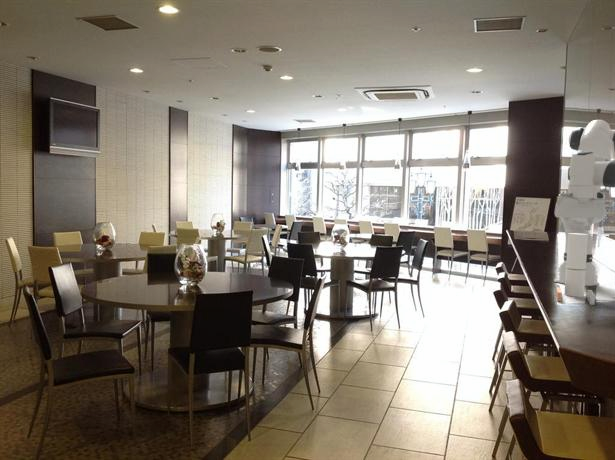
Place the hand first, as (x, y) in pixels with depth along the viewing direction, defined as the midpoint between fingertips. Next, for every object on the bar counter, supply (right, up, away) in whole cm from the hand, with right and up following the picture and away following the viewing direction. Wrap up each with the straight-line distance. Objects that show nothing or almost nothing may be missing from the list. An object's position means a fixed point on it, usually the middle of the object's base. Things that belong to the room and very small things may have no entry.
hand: (578, 230), depth 205 cm
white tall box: (+5, -27, +13) cm, 30 cm away
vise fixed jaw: (+4, -27, -1) cm, 28 cm away
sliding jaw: (-5, -26, +7) cm, 28 cm away
